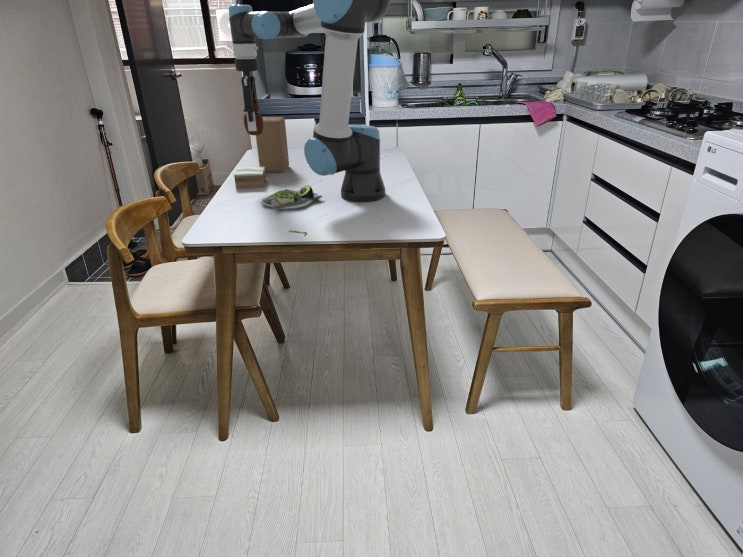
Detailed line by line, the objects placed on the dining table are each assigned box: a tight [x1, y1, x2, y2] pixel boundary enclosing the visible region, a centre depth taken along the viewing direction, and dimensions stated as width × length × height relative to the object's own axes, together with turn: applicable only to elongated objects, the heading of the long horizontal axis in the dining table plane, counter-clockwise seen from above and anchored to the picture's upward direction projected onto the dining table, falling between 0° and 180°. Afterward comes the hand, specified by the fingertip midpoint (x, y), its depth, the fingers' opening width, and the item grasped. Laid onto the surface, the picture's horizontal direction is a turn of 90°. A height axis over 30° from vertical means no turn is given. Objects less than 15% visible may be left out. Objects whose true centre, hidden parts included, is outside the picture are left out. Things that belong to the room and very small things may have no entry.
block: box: [255, 116, 290, 173], centre depth 194 cm, size 10×10×20 cm
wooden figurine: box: [243, 97, 264, 136], centre depth 170 cm, size 7×6×15 cm
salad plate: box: [261, 185, 323, 211], centre depth 158 cm, size 19×18×5 cm
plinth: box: [233, 166, 267, 189], centre depth 179 cm, size 10×10×5 cm
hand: (254, 128), depth 172 cm, fingers closed on wooden figurine, 7 cm apart
